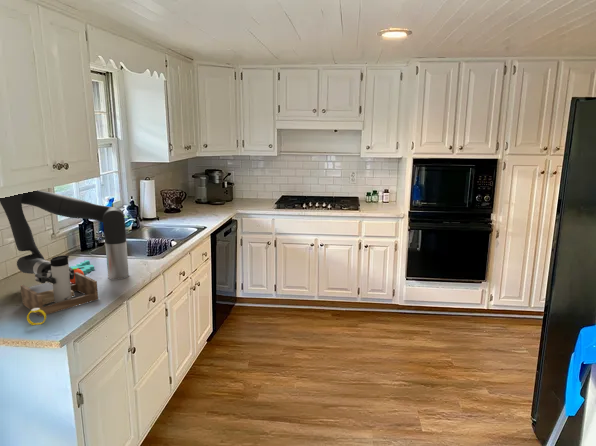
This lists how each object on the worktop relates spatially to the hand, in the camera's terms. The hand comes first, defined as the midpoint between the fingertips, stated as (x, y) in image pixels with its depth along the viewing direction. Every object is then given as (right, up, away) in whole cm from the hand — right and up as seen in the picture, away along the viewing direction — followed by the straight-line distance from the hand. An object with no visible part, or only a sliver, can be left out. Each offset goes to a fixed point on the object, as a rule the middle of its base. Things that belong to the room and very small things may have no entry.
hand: (63, 279), depth 174 cm
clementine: (-9, -5, +27) cm, 29 cm away
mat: (-20, -7, +19) cm, 29 cm away
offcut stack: (-8, -10, +9) cm, 15 cm away
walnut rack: (-4, -10, +5) cm, 12 cm away
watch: (-2, -15, -15) cm, 21 cm away
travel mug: (-2, -11, +4) cm, 11 cm away
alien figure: (-19, -2, +43) cm, 47 cm away
